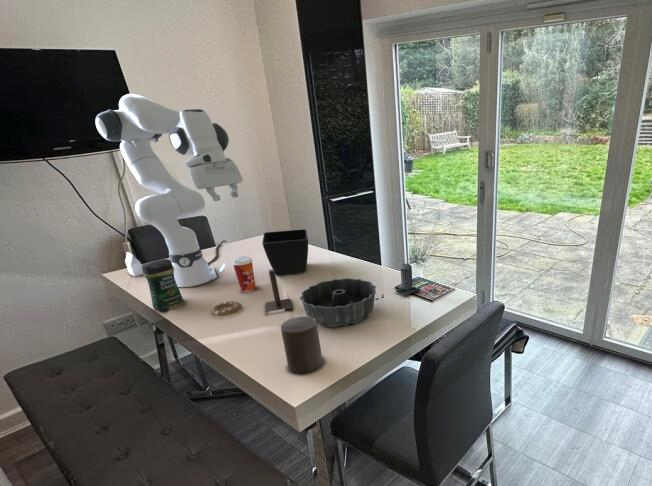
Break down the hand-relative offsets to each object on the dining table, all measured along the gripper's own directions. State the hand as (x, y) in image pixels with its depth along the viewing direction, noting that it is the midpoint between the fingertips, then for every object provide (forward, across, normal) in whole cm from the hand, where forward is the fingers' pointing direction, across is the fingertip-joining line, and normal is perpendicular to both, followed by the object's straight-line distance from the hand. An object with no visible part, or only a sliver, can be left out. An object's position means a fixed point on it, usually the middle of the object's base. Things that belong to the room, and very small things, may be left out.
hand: (226, 198), depth 143 cm
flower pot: (+37, -38, -12) cm, 54 cm away
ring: (+38, +6, -13) cm, 41 cm away
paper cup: (+37, -14, -17) cm, 43 cm away
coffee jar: (+33, +5, -38) cm, 51 cm away
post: (+43, 0, +4) cm, 43 cm away
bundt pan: (+49, +3, +30) cm, 58 cm away
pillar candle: (+52, +33, +31) cm, 69 cm away
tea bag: (+22, -23, -80) cm, 86 cm away
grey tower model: (+52, -21, +48) cm, 74 cm away
